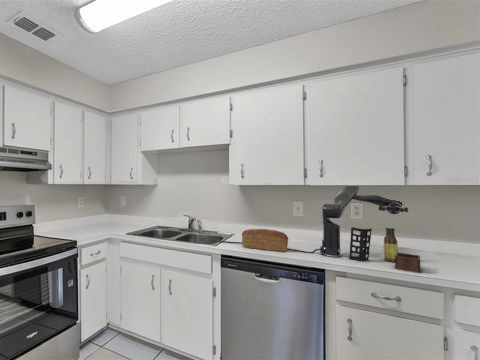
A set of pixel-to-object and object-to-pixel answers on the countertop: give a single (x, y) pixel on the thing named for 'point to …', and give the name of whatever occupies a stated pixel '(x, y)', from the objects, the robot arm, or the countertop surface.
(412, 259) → the wooden sleeve
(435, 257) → the countertop surface
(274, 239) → the bread
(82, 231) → the countertop surface
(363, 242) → the holder
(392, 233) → the sauce bottle
